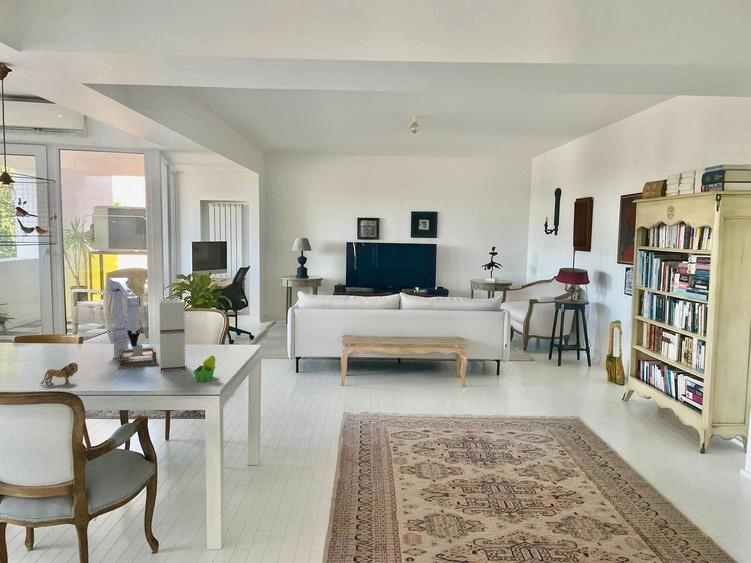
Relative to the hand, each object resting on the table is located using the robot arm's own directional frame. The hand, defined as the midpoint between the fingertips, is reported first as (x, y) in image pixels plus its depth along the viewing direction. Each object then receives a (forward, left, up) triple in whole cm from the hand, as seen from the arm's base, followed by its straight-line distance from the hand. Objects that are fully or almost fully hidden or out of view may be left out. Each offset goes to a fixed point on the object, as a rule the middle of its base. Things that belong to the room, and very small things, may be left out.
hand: (133, 344), depth 260 cm
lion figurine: (+24, -31, -11) cm, 40 cm away
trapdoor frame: (0, +2, -10) cm, 10 cm away
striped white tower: (+17, +17, -11) cm, 27 cm away
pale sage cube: (+1, +2, -5) cm, 5 cm away
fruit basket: (+43, +29, -11) cm, 53 cm away
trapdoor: (-2, +2, -6) cm, 7 cm away
